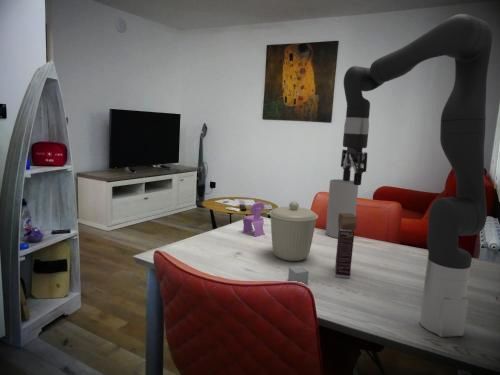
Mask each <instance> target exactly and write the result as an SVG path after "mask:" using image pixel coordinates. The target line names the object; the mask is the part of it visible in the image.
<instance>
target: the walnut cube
mask: <svg viewBox="0 0 500 375" xmlns="http://www.w3.org/2000/svg"><path fill="white" fill-rule="evenodd" d="M357 221H358V216H357V215H356V216H355V215H354V214H352V213H339V216H338V227H340V228H341V229H342V230H354V231H356V229H357V224H358V223H357Z"/></svg>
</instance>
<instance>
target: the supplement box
mask: <svg viewBox="0 0 500 375" xmlns="http://www.w3.org/2000/svg"><path fill="white" fill-rule="evenodd" d="M354 240H355V230H342V229H341V228H340V227H339V232H338V238H337V242H336V243H337V245H336V254H335V265H334V272H335V274H334V275H335V277H336V278H344V279H350V278H351V268H352V260H353V250H354Z"/></svg>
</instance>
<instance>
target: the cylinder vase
mask: <svg viewBox="0 0 500 375" xmlns="http://www.w3.org/2000/svg"><path fill="white" fill-rule="evenodd" d="M353 183H354V180H351V179H350V181H343V179H341V178H340V179H338V178H337V179H330V180H329V188H328V190H329V191H328V200H327V201H328V202H327V212H326V225H325V233H326V235H327V236H328V237H331V238H335V239H338V232H339V227H338V216H339V213H352V214H354V215H355V216H357V214H356V213H357V206H358V204H357V202H358V192H359V185H354V184H353Z"/></svg>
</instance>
